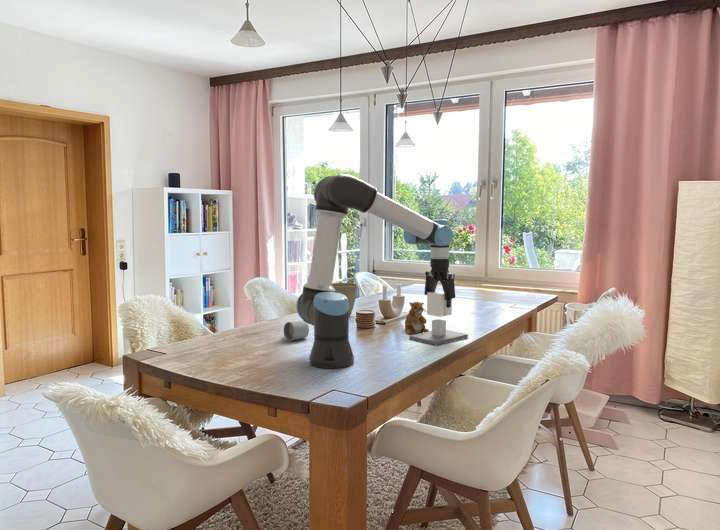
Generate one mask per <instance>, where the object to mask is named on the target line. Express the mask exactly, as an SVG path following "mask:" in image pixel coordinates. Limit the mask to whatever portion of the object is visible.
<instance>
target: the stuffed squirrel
mask: <svg viewBox="0 0 720 530" xmlns="http://www.w3.org/2000/svg"><path fill="white" fill-rule="evenodd" d="M408 304H409V306H410V310H408V313H407V315H406V317H405V320H404V332H405V333H406V334H407V335H413V333H415V334H417V333H416V332H419V333H421V332H429V331H430V330H429V329H428V328H426V323H427V319H426V317H425V316H423V312H425V313H427V309H425V308H423V307H424V306H423V305H424V304H425V303H424V302H419V301H413V302H411V301H410V302H409V303H408Z"/></svg>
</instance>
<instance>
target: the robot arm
mask: <svg viewBox="0 0 720 530" xmlns="http://www.w3.org/2000/svg"><path fill="white" fill-rule="evenodd" d="M313 198H314V201H315V204H316V205H315V209H314V210H315V213H316V214H317V215H318V217H317V218H318V219H317V224H316V229H315V230H316V231H315V232H316V233H315V237H314V245H313V249H312V250H313V251H312V255H311V256H312V257H311V263H310V271H309V275H308V276H309V277H308V281H307V282H306V283H304V284H303V287H302V292H301V294H300V295H299V296H298V298H297V300H296V306H295V307H296V312H297V314H298V317H299V318H300V319H301V320H302V321H304V322H306V323H307V325H311V326H313V327H314V328H313V333H314V334H313V335H314V339H313V344H312V347H311V350H310V354H309V357H308V358H309V359H308V361H309V363H308V364H309V365H310V364H311V365H310V366H312V367H314V366H315V367H314V368H319V369H340V368H342V369H343V368H346V367H350V366H352V365H353V364H354V363H355V360H354V359H355V357H354V356H355V355H354V353H353V349H352V346H351V343H350V339H349V331H350V330H349V325H350V324H349V320H350V319H349V318H350V316H349V304H348V298H347V297H346V296H345V295H343V294H341V293H336V292H335V289H334V288H333V286H332V283H333V280H334V274H335V269H336V268H335V267H336V262H337V255H338V250H339V249H338V248H339V244H340V243H339V241H340V236H341V231H342V230H341V228H342V223H343V219H345V218H346V217H347V216H348V212H349V209H351V210H355V211H358V212H361V213H362V214H366V213H370V214H372V216H373V215H374V216H375V217H377V218H379V219H381V220H383V221H386V223H387V222H388V223H390V224H392V225H394V226H396V227H398V228H399V229H402V230H403V235H402V236H403V240H404V242H405V243H406V244H408V245H428V246H430V250H429V252H430V253H429V254H430V257H431V258H430V261H429V263H430V264H429V265H430V268H431V269H430V270H428V271H425V273H424V274H425V284H424V295H425V296H427V293H428V292H435V291H437V290H436V289H437V286H438V283H439V282H440V284H441V285H442V290H443V292H444V294H445V298H446V299H445V300H444V316H443V317H447V316H451V315H450V307H451V299H452V300H453V299H456V287H455V276H456V274H455V273H452V272H450V271H449V267H450V244H451V242H452V241H453V238H454V232H453V229H452V228H451V226H450V221H449V220H448V219H429V218H428V217H425V216H423V215H421V214H419V213H418V212H416V211H414V210H412V209H410V208H409V207H406V206H405V205H404V204H403V205H402V204H400V203H399V202H397V201H395V200H393V199H392V198H389V197H388V196H385V195H384V194H383V193H380V192H378V189H377V188H376V187H375V186H373V185H371V184H369V183H368V182H365V180H362V179H360V178H358V177H356V176H354V175H351V174H348V173H341V174H337V175H329V176H326V177H323V178H322V179H320V180H319V181H318V182H317V183H316V184H315V186H314V189H313Z"/></svg>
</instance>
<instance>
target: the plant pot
mask: <svg viewBox="0 0 720 530" xmlns="http://www.w3.org/2000/svg"><path fill="white" fill-rule="evenodd" d="M332 286H333V288H334V289H335V292H336V293H341V294H343V295H345V296H346V297H347V298H348V304H349V317H351V316H352V313H353V309H354V306H355V303H356V300H357V299H356V298H357V293H358V283H355V282H337V283H336V282H334V283H333V282H332ZM350 315H351V316H350Z"/></svg>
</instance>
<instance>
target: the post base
mask: <svg viewBox="0 0 720 530" xmlns="http://www.w3.org/2000/svg"><path fill="white" fill-rule="evenodd" d="M408 337H409V338H408V339H409V340H411V341H415V340H416V341H415V342H419V341H420V342H419V343H423V342H425V343H424V344H427V343H429V344H428V345H431V344H434V345H433V346H435V345H436V346H439V345H438V344H440V345H443V344H442V343H444V344H447V343H446V342H448V343H451V342H450V341H453V342H455V341H454V340H457V341H460V340H459V339H461V340H463V339H462V338H465V339H467V338H466V337H468V338H469V333H465V332H464V333H463V332H460V331H459V332H458V331H456V330H455V331H454V330H449V329H447V320H444V319H440V318H438V319H432V320H431V330H429V332H424V333H421V332H419V333H415V334H409V336H408Z"/></svg>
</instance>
